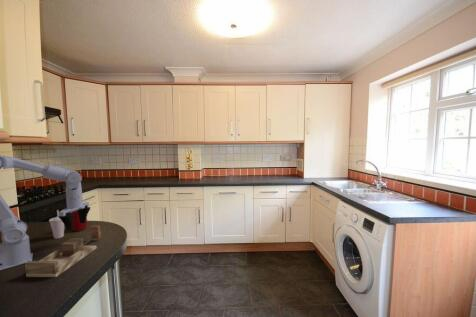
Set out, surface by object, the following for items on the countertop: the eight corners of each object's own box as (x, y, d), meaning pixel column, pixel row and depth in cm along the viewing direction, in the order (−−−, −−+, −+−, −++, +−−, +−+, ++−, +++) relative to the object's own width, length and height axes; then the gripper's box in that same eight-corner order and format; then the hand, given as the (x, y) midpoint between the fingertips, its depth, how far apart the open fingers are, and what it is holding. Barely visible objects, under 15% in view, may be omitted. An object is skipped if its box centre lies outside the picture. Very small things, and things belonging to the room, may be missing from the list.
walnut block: (74, 255, 85) (73, 241, 84) (62, 255, 85) (61, 241, 84) (102, 237, 101) (101, 225, 101) (92, 237, 101) (91, 225, 101)
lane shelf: (56, 277, 73) (54, 263, 73) (26, 276, 74) (24, 262, 73) (96, 248, 93) (95, 237, 93) (73, 248, 93) (72, 237, 93)
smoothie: (59, 239, 102) (57, 212, 101) (46, 239, 102) (44, 212, 101) (70, 233, 108) (68, 208, 107) (58, 234, 109) (56, 208, 107)
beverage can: (85, 225, 119) (83, 205, 118) (89, 228, 115) (87, 207, 114) (70, 229, 114) (68, 208, 113) (74, 233, 110) (72, 211, 109)
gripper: (69, 201, 87) (71, 232, 88) (94, 193, 101) (96, 220, 102) (53, 201, 87) (55, 232, 88) (80, 193, 102) (82, 220, 103)
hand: (76, 226), depth 95 cm, fingers open, 7 cm apart
